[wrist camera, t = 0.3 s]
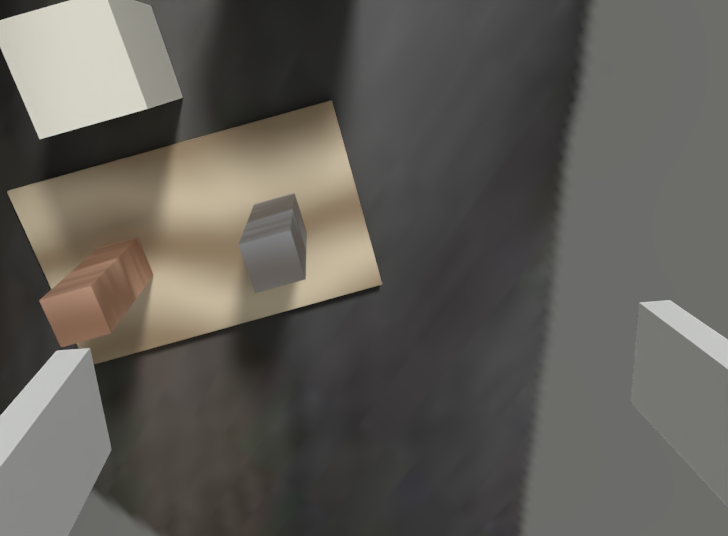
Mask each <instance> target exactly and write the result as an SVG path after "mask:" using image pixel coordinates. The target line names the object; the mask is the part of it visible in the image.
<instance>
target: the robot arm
mask: <svg viewBox="0 0 728 536" xmlns="http://www.w3.org/2000/svg"><path fill="white" fill-rule="evenodd" d="M631 403H632V404H633V405H634V407H635V408H636V409H637V410H638V411H639V412H640V413H641V414H642V415H643V416H644V417H645V418H646V420H648V421H649V423H650V424H651V425H652V426H653V427H654V428H655V429H656V430H657V431H658V432H659V434H660V435H661V436H662V437H663V438H664V439H665V440H666V441H667V442H668V443H669V444H670V445H671V447H672V448H674V450H675V451H676V452H677V453H678V454H679V455H680V456H681V457H682V459H683V460H684V461H685V462H686V463H687V464H688V465H689V466H690V467H691V468H692V469H693V470H694V471H695V473H696V474H697V475H698V476H699V477H700V478H701V479H702V480H703V481H704V482H705V483H706V484H707V486H708V487H710V489H711V490H712V491H713V492H714V493H715V494H716V495H717V496H718V497H719V499H720V500H721V501H722V502H723V503H724V504H725V505H726V506H727V507H728V340H727V339H726V338H724V337H723V336H722V335H720V334H719V333H717V332H716V331H714V330H713V329H711V328H710V327H708V326H707V325H705V324H704V323H702V322H701V321H699V320H698V319H697V318H695V317H694V316H692V315H691V314H689V313H688V312H686V311H685V310H683V309H682V308H680V307H679V306H677V305H676V304H674V303H673V302H671V301H670V300H665V301H653V302H641V303H639V310H638V322H637V334H636V345H635V357H634V368H633V380H632V392H631ZM110 452H111V445H110V440H109V436H108V431H107V426H106V421H105V416H104V412H103V407H102V402H101V397H100V393H99V388H98V383H97V378H96V373H95V369H94V364H93V359H92V354H91V350H90V348H83V349H71V350H59V351H56V352H55V353H54V354H53V355H52V356H51V358H50V359H49V360H48V361H47V362H46V363H45V365H44V366H43V367H42V368H41V369H40V370H39V371H38V373H37V374H36V375H35V376H34V377H33V378H32V380H31V381H30V382H29V383H28V384H27V385H26V387H25V388H24V389H23V390H22V391H21V392H20V393H19V395H18V396H17V397H16V398H15V399H14V400H13V402H12V403H11V404H10V405H9V406H8V407H7V409H6V410H5V411H4V412H3V413H2V414H1V415H0V536H68V534H69V532H70V531H71V528H72V527H73V525H74V523H75V521H76V519H77V517H78V515H79V513H80V511H81V509H82V507H83V505H84V503H85V501H86V499H87V497H88V495H89V493H90V491H91V489H92V487H93V485H94V483H95V481H96V479H97V477H98V475H99V473H100V471H101V469H102V467H103V465H104V464H105V462H106V460H107V458H108V456H109V454H110Z"/></svg>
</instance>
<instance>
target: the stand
mask: <svg viewBox="0 0 728 536" xmlns="http://www.w3.org/2000/svg"><path fill="white" fill-rule="evenodd" d="M7 193H8V195H9V197H10V200H11V202H12V204H13V206H14V208H15V211H16V213H17V215H18V217H19V219H20V221H21V224H22V226H23V228H24V230H25V232H26V235H27V237H28V239H29V241H30V243H31V246H32V248H33V250H34V252H35V254H36V256H37V259H38V261H39V263H40V265H41V267H42V270H43V272H44V274H45V276H46V278H47V281H48V283H49V285H50V287H51V290H50V291H49V292H48V293H47V294H46V295H45V296H44V297H42V298H41V299H40V300H39V301H40V303H41V305H42V308H43V310H44V312H45V314H46V316H47V318H48V320H49V323H50V325H51V327H52V329H53V331H54V333H55V335H56V338H57V340H58V342H59V344H60V346H61V347H64V346H68V345H71V344H75V343H76V344H77V346H78V348H79V349H83V348H90V350H91V354H92V359H93V364H97V363H101V362H105V361H108V360H112V359H115V358H119V357H123V356H126V355H130V354H133V353H137V352H141V351H144V350H148V349H151V348H155V347H159V346H162V345H166V344H169V343H173V342H177V341H180V340H184V339H187V338H191V337H195V336H198V335H202V334H205V333H209V332H213V331H216V330H220V329H223V328H227V327H231V326H234V325H238V324H241V323H245V322H249V321H252V320H256V319H259V318H263V317H267V316H270V315H274V314H277V313H281V312H285V311H288V310H292V309H295V308H299V307H303V306H306V305H310V304H313V303H317V302H321V301H324V300H328V299H331V298H335V297H339V296H342V295H346V294H349V293H353V292H357V291H360V290H364V289H367V288H371V287H375V286H378V285H382V282H381V278H380V274H379V271H378V267H377V263H376V260H375V256H374V252H373V249H372V245H371V241H370V238H369V234H368V230H367V227H366V223H365V220H364V216H363V212H362V209H361V205H360V201H359V198H358V194H357V190H356V187H355V183H354V179H353V176H352V172H351V168H350V165H349V161H348V157H347V154H346V150H345V146H344V143H343V139H342V136H341V132H340V128H339V125H338V121H337V117H336V114H335V110H334V106H333V103H332V100H329V101H326V102H322V103H319V104H315V105H311V106H308V107H304V108H301V109H297V110H294V111H290V112H286V113H283V114H279V115H276V116H272V117H269V118H265V119H262V120H258V121H254V122H251V123H247V124H244V125H240V126H237V127H233V128H229V129H226V130H222V131H219V132H215V133H212V134H208V135H205V136H201V137H197V138H194V139H190V140H187V141H183V142H180V143H176V144H172V145H169V146H165V147H162V148H158V149H155V150H151V151H148V152H144V153H140V154H137V155H133V156H130V157H126V158H123V159H119V160H115V161H112V162H108V163H105V164H101V165H98V166H94V167H90V168H87V169H83V170H80V171H76V172H73V173H69V174H66V175H62V176H58V177H55V178H51V179H48V180H44V181H41V182H37V183H33V184H30V185H26V186H23V187H19V188H16V189H12V190H10V191H7Z"/></svg>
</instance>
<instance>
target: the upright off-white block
mask: <svg viewBox="0 0 728 536" xmlns="http://www.w3.org/2000/svg"><path fill="white" fill-rule="evenodd" d="M0 48H1V50H2V53H3V55H4V57H5V60H6V62H7V64H8V67H9V69H10V71H11V74H12V76H13V78H14V81H15V83H16V85H17V88H18V90H19V92H20V95H21V97H22V99H23V102H24V104H25V106H26V109H27V111H28V113H29V116H30V118H31V120H32V123H33V125H34V127H35V130H36V132H37V134H38V137H39V139H43V138H46V137H50V136H53V135H57V134H60V133H64V132H68V131H71V130H75V129H78V128H82V127H85V126H89V125H92V124H96V123H100V122H103V121H107V120H110V119H114V118H117V117H121V116H124V115H128V114H132V113H135V112H139V111H142V110H146V109H149V108H152V107H155V106H159V105H162V104H165V103H168V102H171V101H174V100H178V99H181V98H183V97H182V94H181V91H180V88H179V85H178V82H177V79H176V77H175V74H174V71H173V68H172V65H171V62H170V59H169V56H168V53H167V51H166V48H165V45H164V42H163V39H162V36H161V33H160V30H159V28H158V25H157V22H156V19H155V16H154V13H153V10H152V7H151V5H147V4H144V3H141V2H138V1H135V0H69V1H66V2H62V3H59V4H55V5H52V6H48V7H45V8H41V9H38V10H34V11H31V12H27V13H24V14H20V15H16V16H13V17H9V18H6V19H2V20H0Z"/></svg>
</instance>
